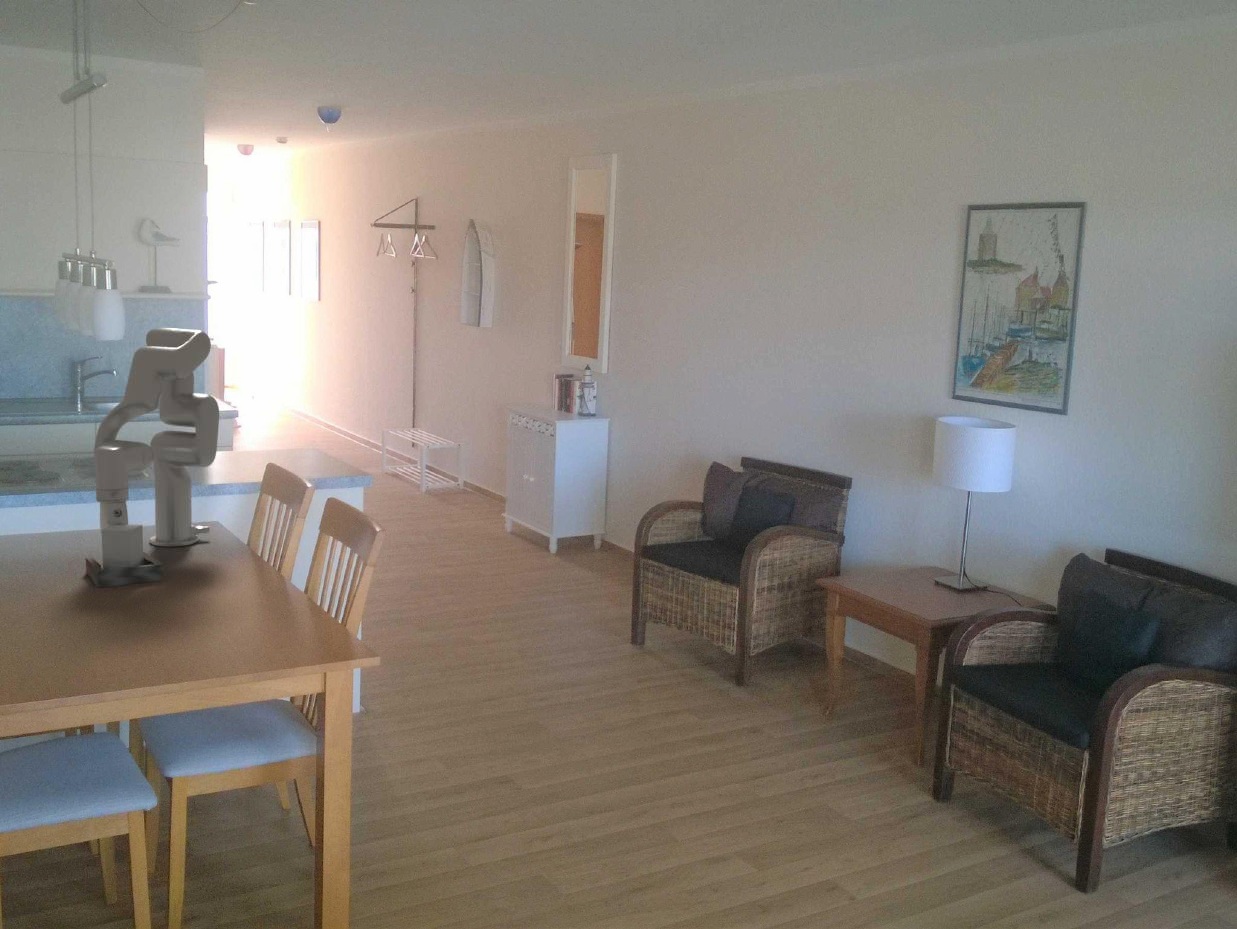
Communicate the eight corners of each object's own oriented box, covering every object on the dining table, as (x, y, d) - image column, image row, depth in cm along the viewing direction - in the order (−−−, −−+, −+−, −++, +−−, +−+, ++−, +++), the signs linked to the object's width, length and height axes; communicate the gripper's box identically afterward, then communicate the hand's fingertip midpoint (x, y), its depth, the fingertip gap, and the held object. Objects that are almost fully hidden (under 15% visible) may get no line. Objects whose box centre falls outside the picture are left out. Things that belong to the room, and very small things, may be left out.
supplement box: (144, 572, 286) (143, 524, 284) (131, 580, 279) (130, 531, 277) (115, 571, 286) (114, 522, 284) (101, 578, 279) (100, 529, 277)
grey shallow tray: (146, 566, 292) (146, 551, 291) (162, 580, 281) (162, 564, 280) (84, 573, 283) (83, 558, 282) (98, 587, 272) (97, 571, 271)
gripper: (135, 498, 282) (137, 569, 285) (120, 487, 293) (121, 556, 297) (103, 501, 277) (105, 573, 280) (89, 490, 289) (91, 559, 292)
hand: (114, 564), depth 289 cm, fingers closed
